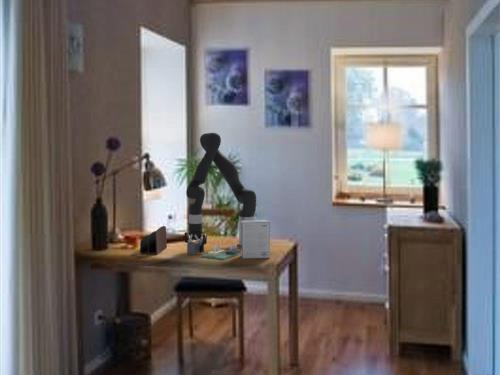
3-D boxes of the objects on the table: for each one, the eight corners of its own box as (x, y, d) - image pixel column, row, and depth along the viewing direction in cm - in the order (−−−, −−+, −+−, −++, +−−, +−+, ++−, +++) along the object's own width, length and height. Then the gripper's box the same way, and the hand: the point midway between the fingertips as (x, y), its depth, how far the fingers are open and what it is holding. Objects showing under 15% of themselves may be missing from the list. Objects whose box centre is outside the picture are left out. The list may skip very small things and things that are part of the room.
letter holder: (166, 248, 387) (166, 224, 385) (157, 255, 367) (156, 230, 366) (150, 247, 388) (150, 223, 387) (139, 254, 369) (139, 229, 367)
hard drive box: (269, 255, 368) (269, 220, 365) (270, 258, 360) (270, 222, 358) (241, 255, 367) (241, 220, 365) (241, 258, 359) (241, 222, 357)
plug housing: (197, 251, 379) (197, 240, 378) (204, 251, 376) (204, 241, 376) (187, 254, 370) (187, 243, 369) (194, 255, 368) (194, 244, 367)
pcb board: (219, 251, 378) (219, 241, 378) (240, 253, 371) (240, 244, 371) (202, 257, 363) (202, 247, 362) (223, 259, 356) (223, 249, 355)
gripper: (210, 222, 371) (210, 251, 373) (188, 220, 378) (189, 248, 380) (202, 224, 364) (202, 253, 366) (181, 221, 372) (181, 251, 373)
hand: (195, 251), depth 373 cm, fingers open, 7 cm apart
